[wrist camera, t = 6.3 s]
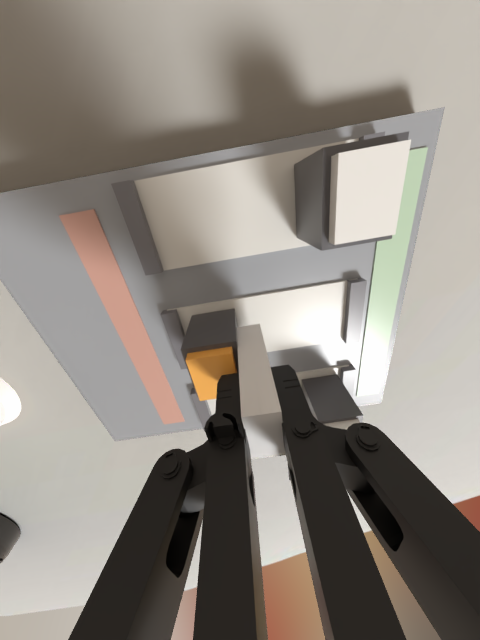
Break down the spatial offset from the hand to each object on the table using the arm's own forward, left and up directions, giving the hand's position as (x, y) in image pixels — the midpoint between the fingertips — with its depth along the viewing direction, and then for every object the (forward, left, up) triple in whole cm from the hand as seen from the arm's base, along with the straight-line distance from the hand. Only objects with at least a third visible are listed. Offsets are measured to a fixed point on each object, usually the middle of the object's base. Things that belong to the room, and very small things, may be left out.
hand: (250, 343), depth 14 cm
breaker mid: (-2, 0, -2) cm, 3 cm away
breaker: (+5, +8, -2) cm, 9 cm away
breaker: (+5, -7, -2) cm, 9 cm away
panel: (-2, 0, -4) cm, 4 cm away
